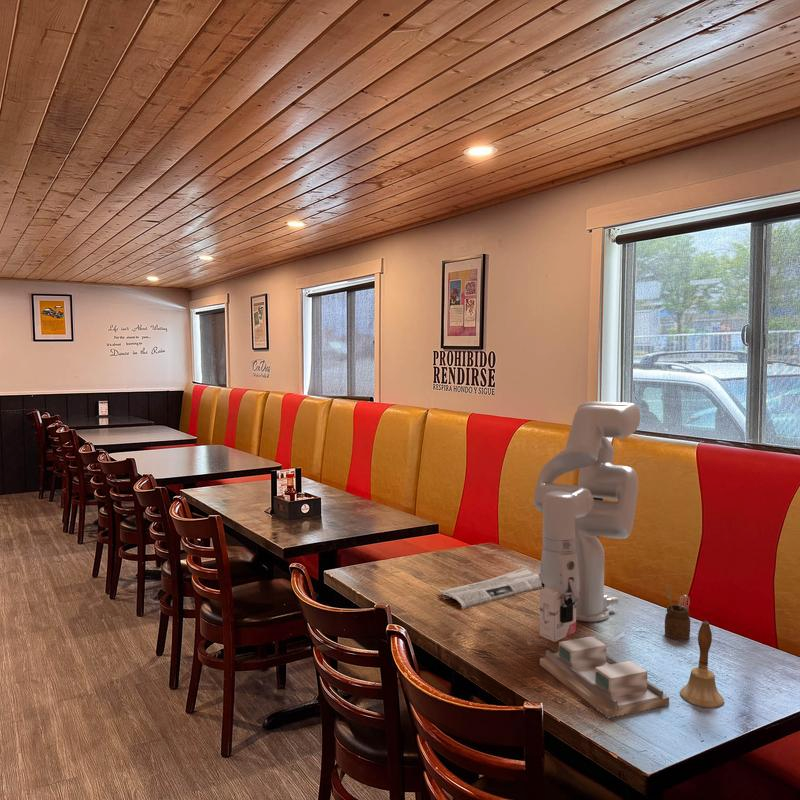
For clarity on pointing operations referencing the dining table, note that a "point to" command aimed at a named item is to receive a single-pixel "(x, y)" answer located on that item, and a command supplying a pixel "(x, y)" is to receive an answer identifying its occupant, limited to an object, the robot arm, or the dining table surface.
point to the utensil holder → (677, 619)
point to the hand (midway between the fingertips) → (558, 615)
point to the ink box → (554, 616)
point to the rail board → (603, 678)
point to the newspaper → (494, 588)
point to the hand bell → (702, 676)
